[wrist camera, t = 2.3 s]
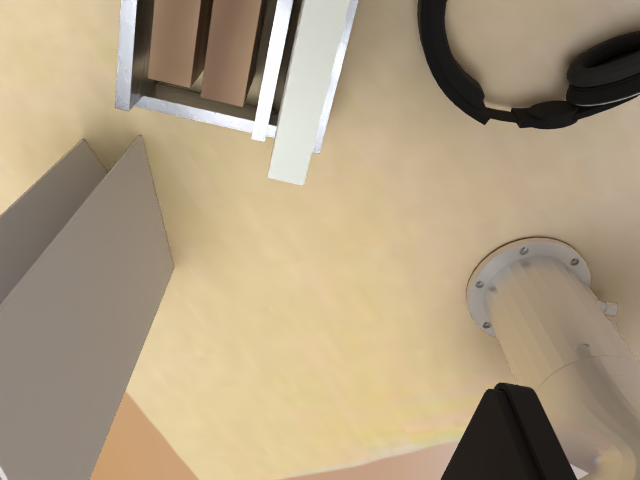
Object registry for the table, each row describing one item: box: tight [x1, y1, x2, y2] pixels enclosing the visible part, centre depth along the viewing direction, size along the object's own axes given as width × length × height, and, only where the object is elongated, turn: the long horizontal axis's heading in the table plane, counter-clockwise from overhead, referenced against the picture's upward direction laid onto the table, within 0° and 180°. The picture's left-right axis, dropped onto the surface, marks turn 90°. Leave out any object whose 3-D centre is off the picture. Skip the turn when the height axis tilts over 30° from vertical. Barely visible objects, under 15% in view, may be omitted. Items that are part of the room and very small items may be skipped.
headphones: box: [417, 0, 640, 129], centre depth 41 cm, size 18×8×20 cm
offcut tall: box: [201, 0, 268, 107], centre depth 40 cm, size 3×12×9 cm, turn 166°
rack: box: [115, 0, 359, 154], centre depth 40 cm, size 15×19×8 cm
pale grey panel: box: [268, 0, 350, 186], centre depth 35 cm, size 2×12×20 cm, turn 166°
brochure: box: [0, 135, 174, 480], centre depth 40 cm, size 14×6×30 cm, turn 4°
